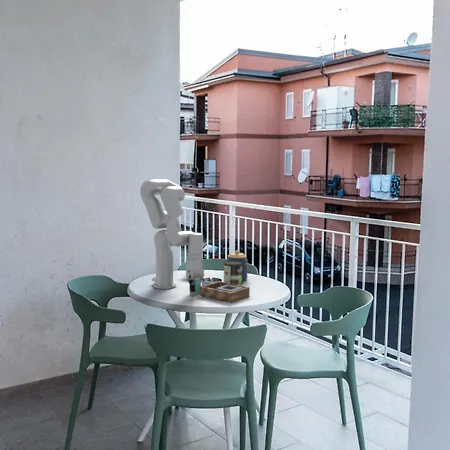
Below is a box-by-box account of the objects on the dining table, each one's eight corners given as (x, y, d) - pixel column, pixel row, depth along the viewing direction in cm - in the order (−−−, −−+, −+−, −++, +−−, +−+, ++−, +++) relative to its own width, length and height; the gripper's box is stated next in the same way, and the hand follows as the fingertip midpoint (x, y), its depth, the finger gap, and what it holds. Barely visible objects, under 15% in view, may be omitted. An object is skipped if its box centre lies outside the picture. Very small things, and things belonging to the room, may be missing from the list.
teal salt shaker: (189, 293, 270) (189, 277, 269) (194, 292, 273) (194, 275, 272) (195, 295, 267) (195, 278, 266) (200, 293, 271) (200, 277, 270)
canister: (231, 276, 314) (231, 247, 312) (250, 278, 309) (251, 249, 307) (222, 280, 302) (222, 250, 300) (242, 282, 297) (242, 252, 295)
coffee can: (244, 286, 288) (244, 261, 287) (238, 290, 279) (238, 265, 277) (227, 284, 292) (227, 260, 290) (220, 288, 282) (221, 263, 281)
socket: (215, 295, 263) (216, 288, 263) (227, 291, 271) (227, 284, 271) (231, 299, 257) (231, 291, 257) (242, 295, 265) (243, 287, 265)
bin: (200, 296, 266) (200, 286, 265) (218, 290, 278) (218, 281, 278) (231, 302, 254) (231, 293, 253) (249, 296, 267) (249, 287, 266)
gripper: (200, 253, 277) (199, 286, 279) (179, 257, 263) (179, 292, 266) (211, 255, 272) (210, 289, 275) (190, 259, 259) (190, 295, 261)
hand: (195, 290), depth 270 cm, fingers closed on teal salt shaker, 4 cm apart
